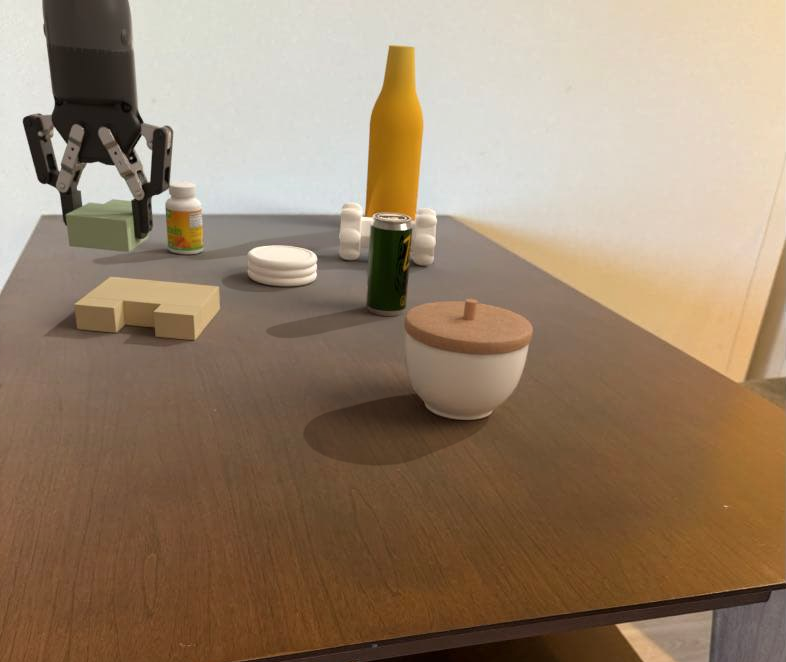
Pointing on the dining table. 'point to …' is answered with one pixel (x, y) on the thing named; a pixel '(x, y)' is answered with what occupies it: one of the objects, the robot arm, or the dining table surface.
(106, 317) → the notch pad
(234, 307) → the dining table surface
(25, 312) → the dining table surface
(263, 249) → the coaster
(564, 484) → the dining table surface
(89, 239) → the pad
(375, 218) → the beer can
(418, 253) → the dog bone
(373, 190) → the beer bottle
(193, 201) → the supplement bottle
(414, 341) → the lidded bowl
